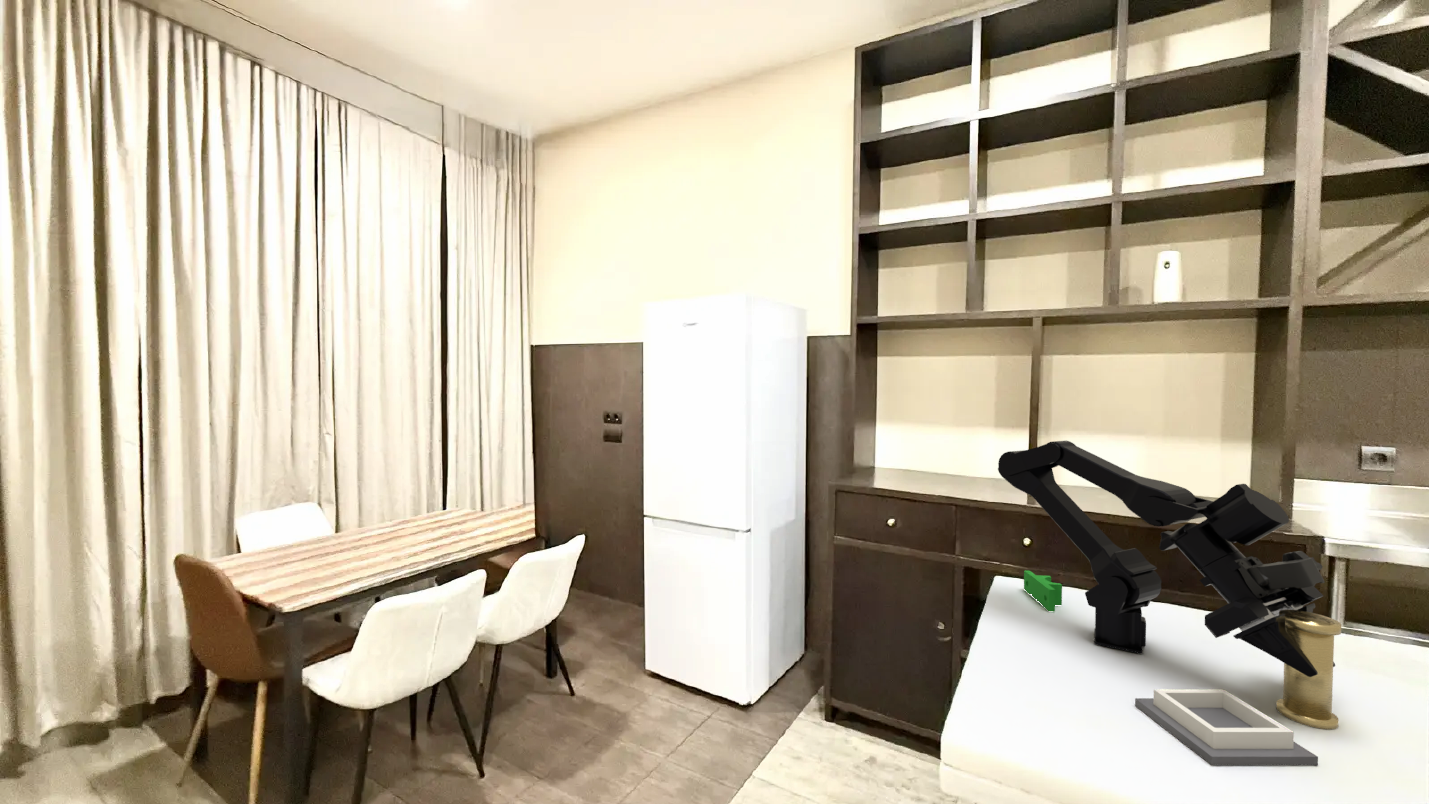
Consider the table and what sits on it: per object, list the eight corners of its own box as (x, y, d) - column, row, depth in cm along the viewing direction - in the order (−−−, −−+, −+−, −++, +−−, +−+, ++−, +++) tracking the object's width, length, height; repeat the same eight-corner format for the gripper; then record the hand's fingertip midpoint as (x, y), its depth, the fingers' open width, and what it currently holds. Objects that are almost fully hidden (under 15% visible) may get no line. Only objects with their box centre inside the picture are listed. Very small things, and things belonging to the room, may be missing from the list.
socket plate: (1211, 765, 65) (1212, 739, 65) (1135, 705, 77) (1135, 683, 77) (1317, 765, 65) (1318, 739, 65) (1224, 705, 77) (1225, 683, 77)
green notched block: (1069, 614, 108) (1070, 590, 108) (1048, 613, 108) (1049, 589, 108) (1042, 592, 119) (1042, 570, 119) (1023, 591, 120) (1024, 569, 119)
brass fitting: (1282, 719, 73) (1284, 620, 73) (1271, 699, 78) (1274, 606, 78) (1345, 734, 70) (1348, 631, 70) (1330, 713, 75) (1333, 615, 74)
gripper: (1235, 540, 73) (1356, 663, 63) (1304, 524, 81) (1422, 631, 71) (1164, 581, 81) (1263, 696, 71) (1234, 563, 88) (1332, 665, 79)
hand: (1322, 671), depth 73 cm, fingers closed on brass fitting, 4 cm apart
